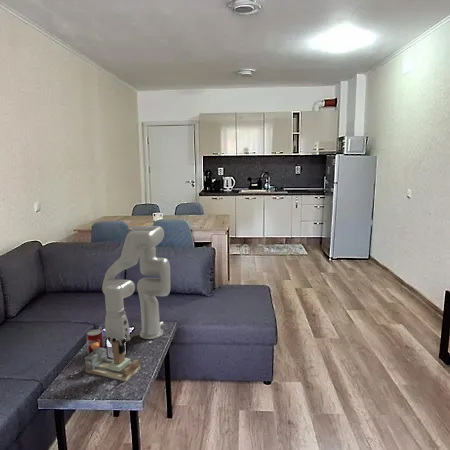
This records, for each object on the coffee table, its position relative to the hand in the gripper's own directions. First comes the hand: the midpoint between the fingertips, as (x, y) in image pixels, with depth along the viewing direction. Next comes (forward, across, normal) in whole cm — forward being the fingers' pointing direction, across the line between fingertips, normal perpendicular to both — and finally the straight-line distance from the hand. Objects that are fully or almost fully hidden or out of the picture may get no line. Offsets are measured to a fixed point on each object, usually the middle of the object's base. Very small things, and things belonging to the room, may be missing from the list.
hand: (118, 351), depth 178 cm
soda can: (+10, +21, -9) cm, 25 cm away
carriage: (+7, 0, 0) cm, 7 cm away
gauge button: (+3, +13, 0) cm, 13 cm away
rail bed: (+10, +4, 0) cm, 10 cm away
